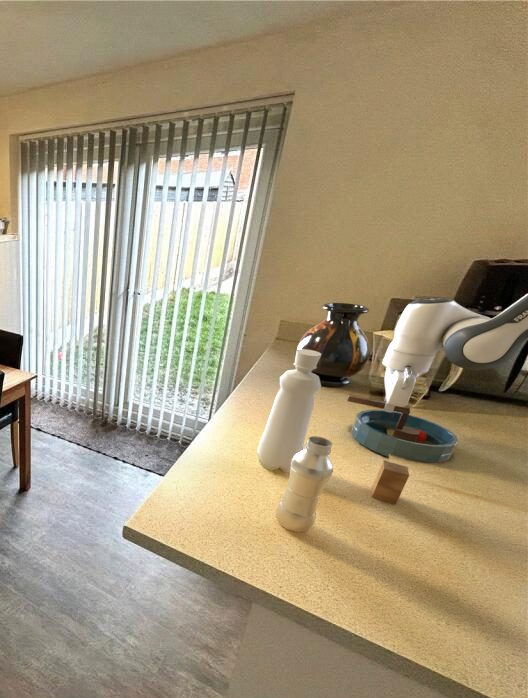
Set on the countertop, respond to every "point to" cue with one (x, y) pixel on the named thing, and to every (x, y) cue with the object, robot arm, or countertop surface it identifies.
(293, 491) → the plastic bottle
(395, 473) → the wooden toy brick
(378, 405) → the bent rod on disc
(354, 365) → the black vase
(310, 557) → the countertop surface
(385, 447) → the blue ring
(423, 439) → the tomato
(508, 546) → the countertop surface
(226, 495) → the countertop surface
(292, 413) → the bottle
